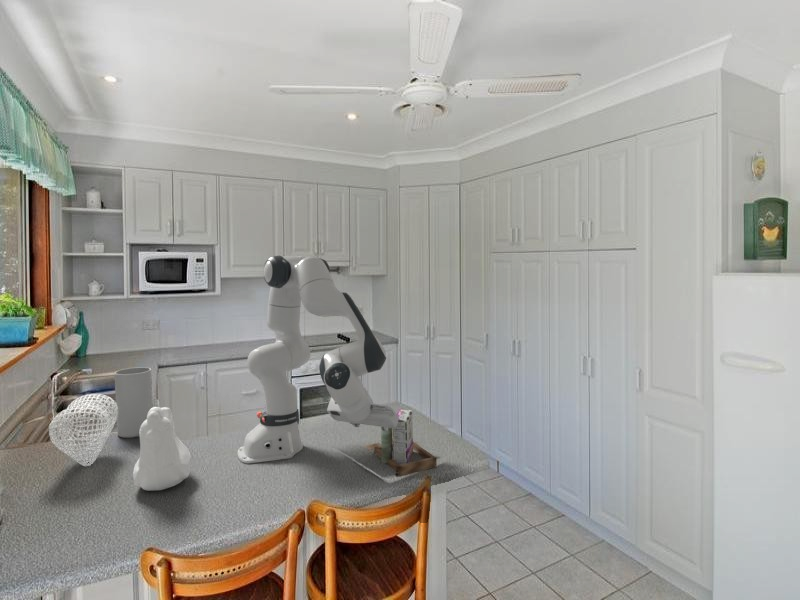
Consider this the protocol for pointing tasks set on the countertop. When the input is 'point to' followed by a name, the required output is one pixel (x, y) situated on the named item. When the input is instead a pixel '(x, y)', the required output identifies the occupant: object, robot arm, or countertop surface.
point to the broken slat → (372, 446)
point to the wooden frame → (407, 468)
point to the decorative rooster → (160, 453)
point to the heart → (102, 437)
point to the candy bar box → (403, 437)
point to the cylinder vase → (132, 399)
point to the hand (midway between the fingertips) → (371, 426)
